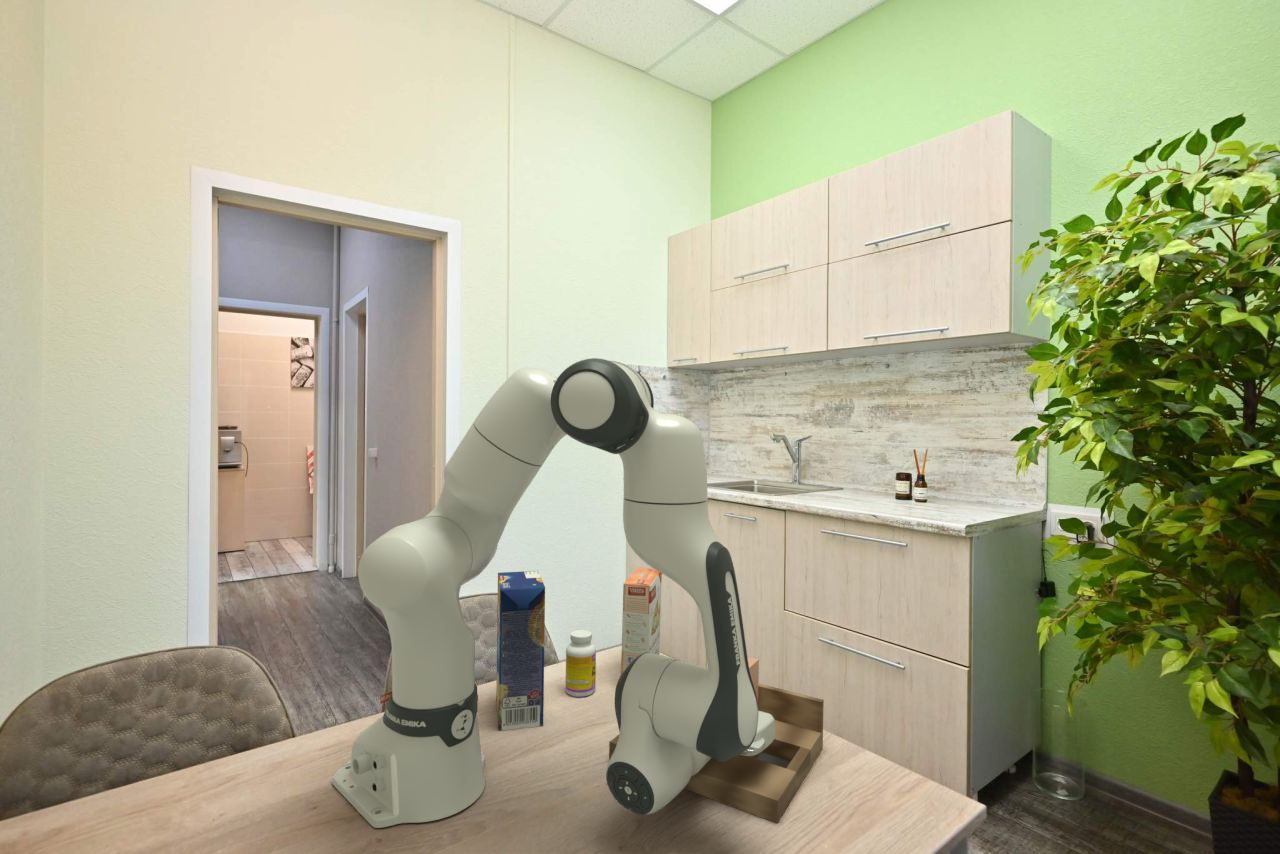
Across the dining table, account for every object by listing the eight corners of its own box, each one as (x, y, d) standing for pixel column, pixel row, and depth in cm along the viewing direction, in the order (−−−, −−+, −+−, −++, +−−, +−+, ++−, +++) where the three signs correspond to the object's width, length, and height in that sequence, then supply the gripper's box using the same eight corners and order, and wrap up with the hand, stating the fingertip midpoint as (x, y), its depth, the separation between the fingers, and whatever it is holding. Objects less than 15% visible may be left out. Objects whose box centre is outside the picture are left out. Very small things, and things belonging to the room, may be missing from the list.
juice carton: (543, 726, 106) (545, 587, 105) (498, 731, 104) (500, 590, 103) (536, 695, 117) (538, 570, 117) (496, 699, 115) (497, 572, 115)
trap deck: (609, 760, 95) (609, 709, 95) (676, 705, 114) (677, 662, 114) (777, 823, 81) (778, 763, 81) (822, 748, 100) (823, 699, 100)
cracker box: (649, 691, 120) (651, 584, 120) (619, 688, 121) (621, 582, 121) (661, 663, 134) (663, 567, 133) (634, 660, 135) (635, 566, 135)
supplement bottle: (596, 697, 117) (596, 638, 117) (565, 698, 116) (566, 639, 116) (594, 684, 123) (595, 627, 123) (565, 685, 122) (566, 628, 122)
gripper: (756, 732, 83) (789, 694, 94) (629, 694, 93) (672, 664, 105) (756, 779, 83) (789, 734, 94) (628, 736, 93) (672, 701, 105)
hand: (726, 697), depth 100 cm, fingers closed, pressing on terracotta block
